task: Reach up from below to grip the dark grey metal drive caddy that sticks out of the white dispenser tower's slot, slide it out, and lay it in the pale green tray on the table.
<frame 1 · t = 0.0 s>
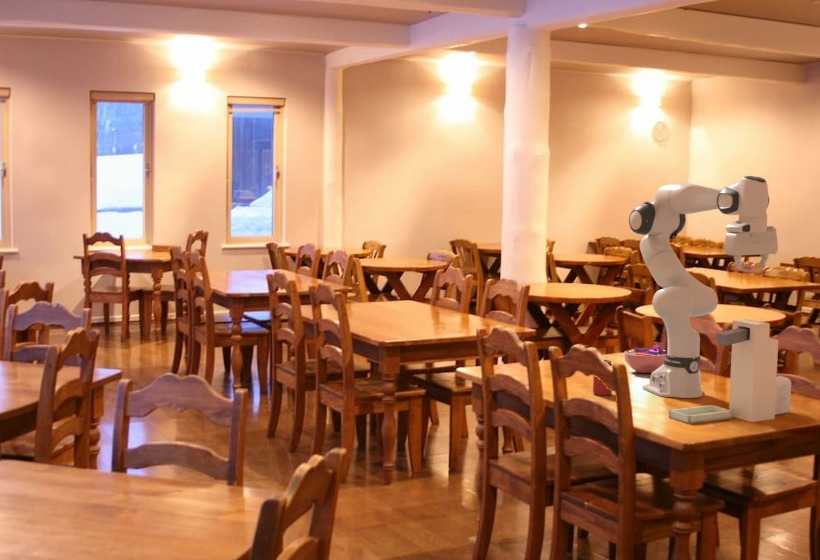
hand: (750, 268, 343), 48 cm above the table, tool pointing down, fingers open, 8 cm apart
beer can: (602, 394, 375), on the table
white dispenser tower: (751, 417, 341), on the table
tray: (700, 418, 339), on the table
drive caddy: (737, 340, 335), point 26 cm above the table, tilted 8°, touching white dispenser tower
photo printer: (776, 413, 348), on the table
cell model: (648, 373, 416), on the table
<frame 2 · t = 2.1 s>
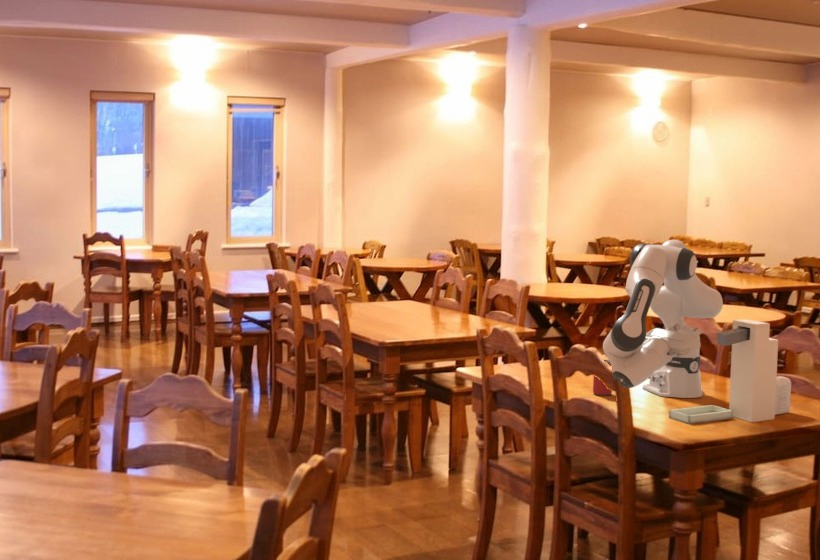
hand: (689, 327, 328), 31 cm above the table, tool pointing upward, fingers open, 8 cm apart
nothing on the table moved.
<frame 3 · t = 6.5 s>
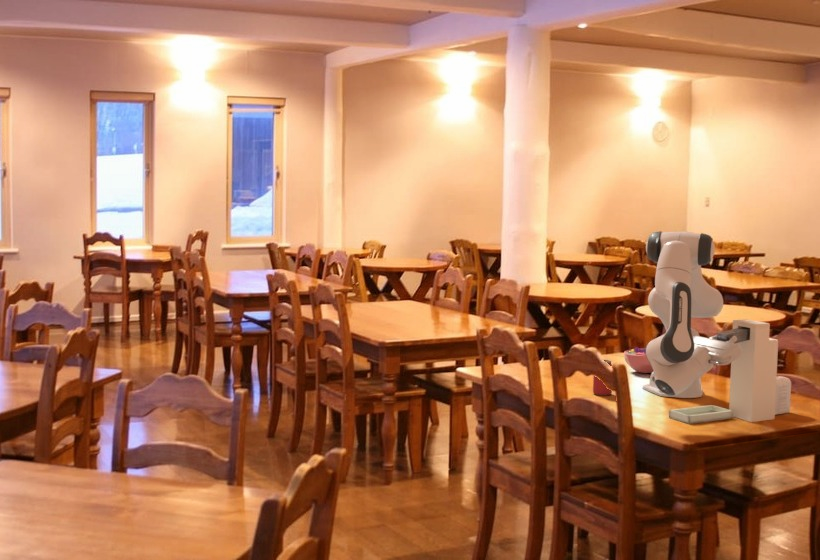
hand: (728, 335, 333), 27 cm above the table, tool pointing upward, fingers closed on drive caddy, 4 cm apart
drive caddy: (737, 340, 335), point 26 cm above the table, tilted 8°, touching gripper, white dispenser tower
everything else where it was.
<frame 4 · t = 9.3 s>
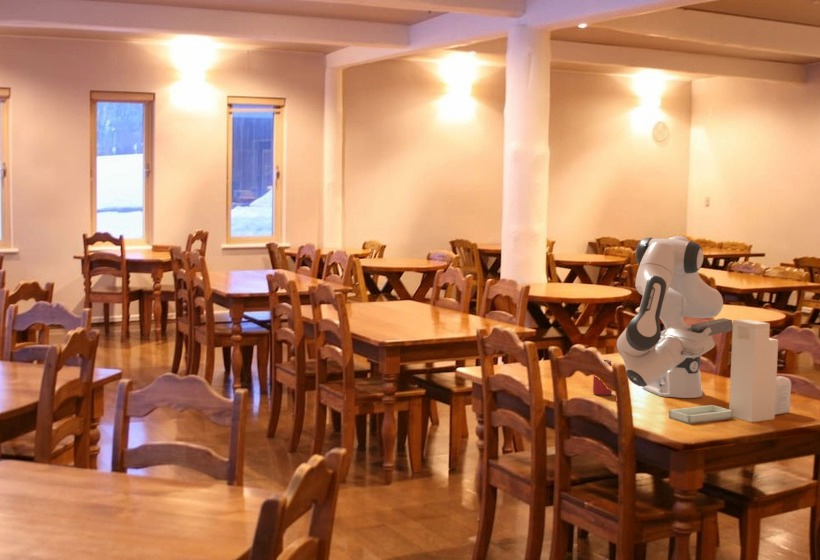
hand: (703, 327, 328), 31 cm above the table, tool pointing upward, fingers closed on drive caddy, 4 cm apart
drive caddy: (712, 333, 330), point 29 cm above the table, tilted 6°, touching gripper
everything else where it was.
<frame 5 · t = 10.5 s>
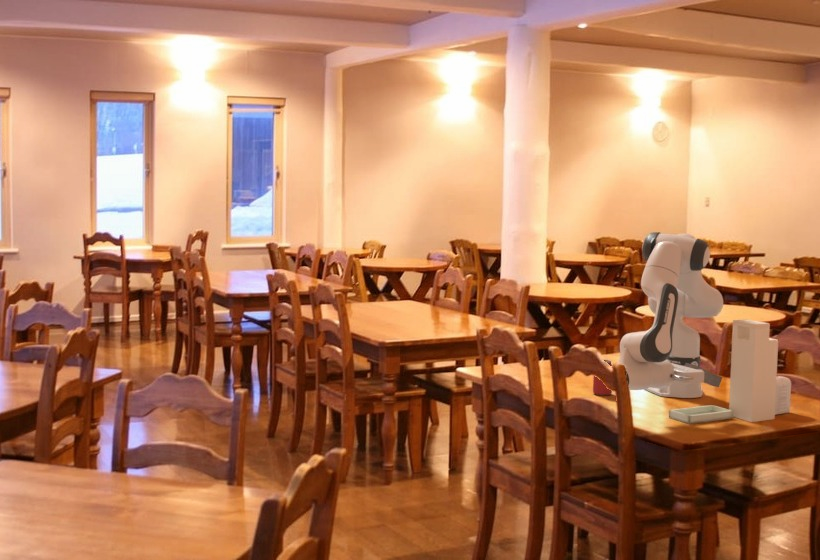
hand: (695, 370, 336), 16 cm above the table, tool horizontal, fingers closed on drive caddy, 4 cm apart
drive caddy: (700, 380, 338), point 12 cm above the table, tilted 23°, touching gripper
everything else where it was.
when the fingers open (7 cm above the table, at t = 12.4 s): drive caddy drops 3 cm, resting on tray.
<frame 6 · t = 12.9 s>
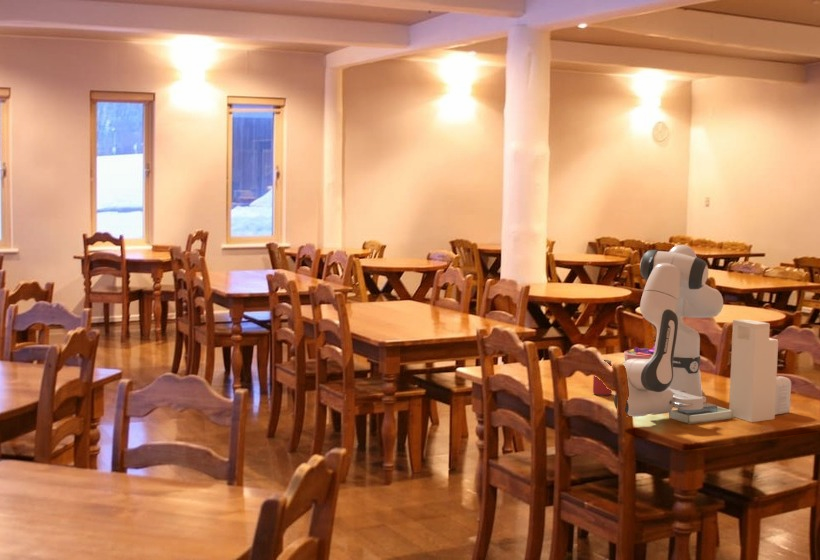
hand: (694, 396, 337), 7 cm above the table, tool horizontal, fingers open, 8 cm apart
drive caddy: (697, 416, 339), point 1 cm above the table, touching tray
everything else where it was.
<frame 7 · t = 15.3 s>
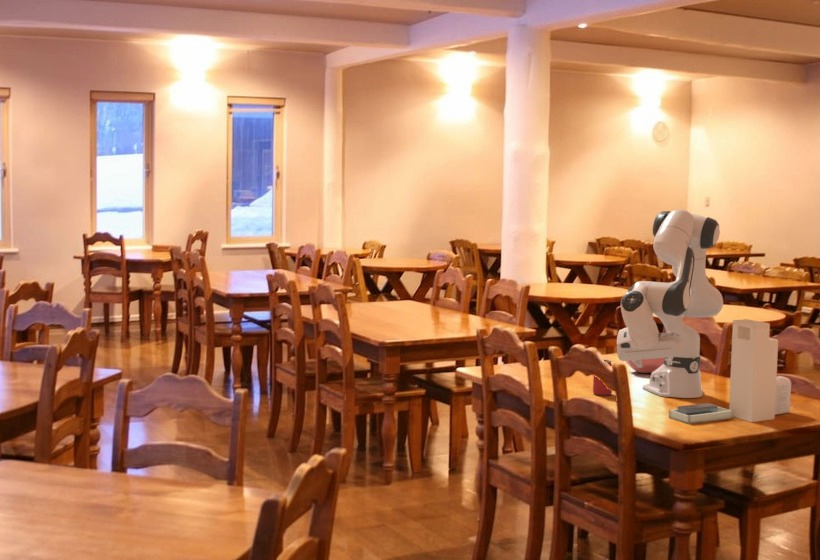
hand: (655, 364, 333), 18 cm above the table, tool tilted 40°, fingers open, 8 cm apart
nothing on the table moved.
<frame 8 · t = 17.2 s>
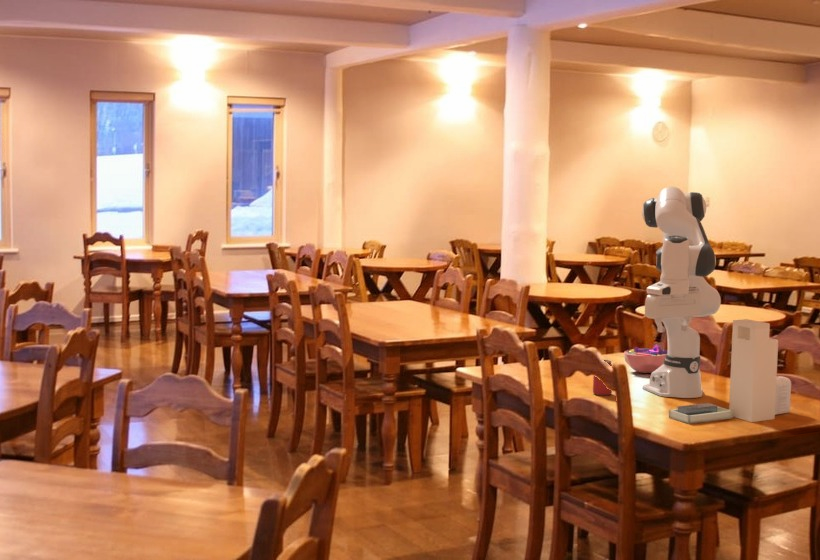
hand: (672, 331, 331), 29 cm above the table, tool pointing down, fingers open, 8 cm apart
nothing on the table moved.
at the end: drive caddy inside the target area (1.6 cm from its centre), point 0.6 cm above the table; drive caddy touching tray; the gripper is holding nothing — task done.
